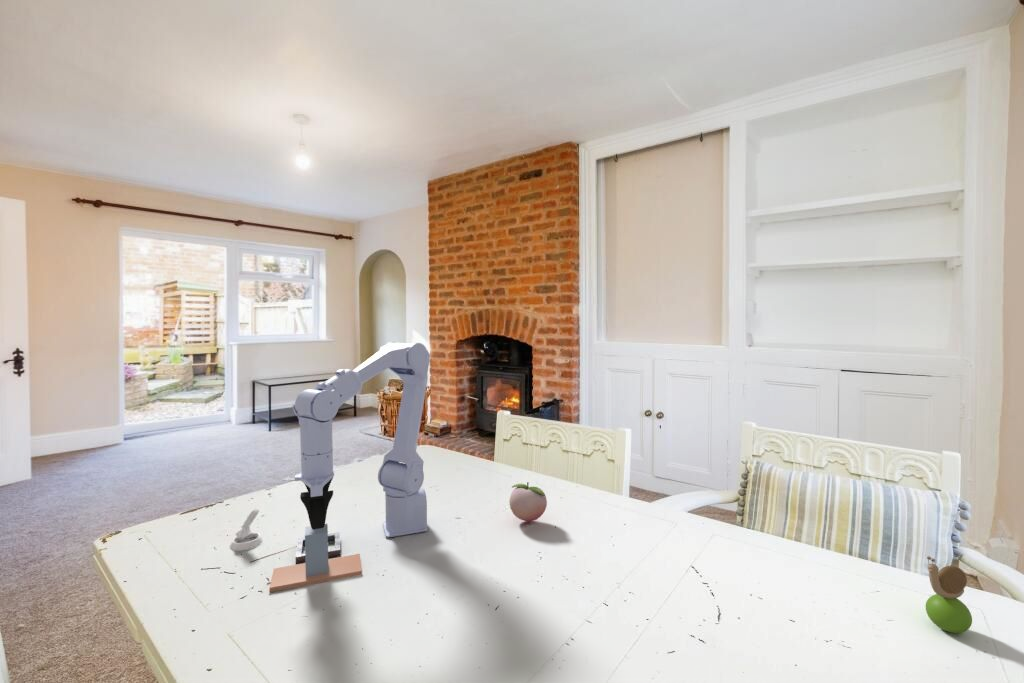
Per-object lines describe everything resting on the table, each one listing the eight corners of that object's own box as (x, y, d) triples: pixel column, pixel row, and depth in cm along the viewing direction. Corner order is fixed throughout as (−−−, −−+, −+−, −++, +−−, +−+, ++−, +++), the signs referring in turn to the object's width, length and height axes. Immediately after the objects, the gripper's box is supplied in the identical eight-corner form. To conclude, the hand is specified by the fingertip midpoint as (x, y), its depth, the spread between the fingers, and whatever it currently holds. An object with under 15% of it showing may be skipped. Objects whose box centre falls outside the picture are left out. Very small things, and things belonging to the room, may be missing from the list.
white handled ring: (270, 531, 99) (244, 519, 98) (247, 565, 101) (221, 553, 99) (281, 513, 105) (257, 501, 104) (259, 545, 107) (235, 533, 105)
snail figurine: (910, 620, 77) (913, 549, 76) (945, 617, 77) (948, 547, 77) (943, 642, 71) (946, 566, 71) (981, 640, 72) (985, 564, 71)
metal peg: (328, 562, 93) (327, 523, 93) (328, 572, 89) (327, 532, 89) (306, 566, 92) (305, 526, 91) (305, 577, 88) (304, 535, 88)
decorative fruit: (503, 526, 111) (503, 485, 111) (515, 513, 119) (515, 474, 118) (540, 533, 108) (540, 491, 107) (550, 519, 115) (551, 479, 115)
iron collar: (339, 538, 105) (339, 532, 105) (340, 556, 97) (340, 549, 97) (298, 545, 102) (298, 538, 102) (295, 564, 94) (295, 557, 94)
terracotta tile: (359, 557, 97) (359, 553, 97) (361, 574, 90) (361, 570, 90) (273, 572, 91) (273, 568, 91) (269, 592, 84) (269, 587, 84)
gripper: (296, 443, 96) (298, 508, 96) (291, 464, 82) (293, 539, 83) (333, 440, 98) (334, 503, 99) (334, 460, 85) (335, 533, 85)
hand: (318, 519), depth 91 cm, fingers open, 7 cm apart
